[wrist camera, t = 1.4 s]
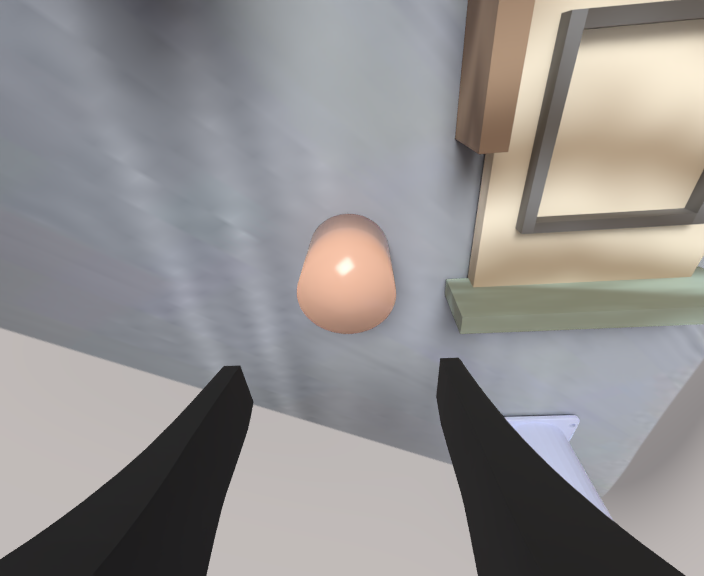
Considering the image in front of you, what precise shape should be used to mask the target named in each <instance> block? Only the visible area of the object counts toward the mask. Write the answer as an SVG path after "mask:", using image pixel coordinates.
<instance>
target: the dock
mask: <svg viewBox="0 0 704 576" xmlns="http://www.w3.org/2000/svg"><path fill="white" fill-rule="evenodd" d="M534 5H535V0H468V6H467V17H466V27H465V38H464V49H463V60H462V70H461V81H460V92H459V103H458V114H457V124H456V135H455V139H456V140H458V141H459V142H461V143H463V144H464V145H466V146H467V147H469V148H470V149H472V150H473V151H475V152H476V153H478V154H488V153H502V152H508V151H509V145H510V140H511V134H512V128H513V123H514V117H515V112H516V106H517V100H518V95H519V89H520V84H521V78H522V72H523V67H524V61H525V56H526V50H527V44H528V39H529V33H530V27H531V22H532V16H533V11H534Z"/></svg>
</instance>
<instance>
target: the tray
mask: <svg viewBox="0 0 704 576" xmlns="http://www.w3.org/2000/svg"><path fill="white" fill-rule="evenodd" d="M703 255H704V0H535V5H534V11H533V16H532V22H531V27H530V33H529V39H528V44H527V50H526V56H525V61H524V67H523V72H522V78H521V84H520V89H519V95H518V100H517V106H516V112H515V117H514V123H513V128H512V134H511V140H510V145H509V151H508V152H502V153H488V154H485V161H484V168H483V175H482V182H481V189H480V196H479V203H478V210H477V217H476V224H475V231H474V238H473V245H472V252H471V259H470V266H469V273H468V278H461V279H446V288H445V296H446V299H447V301H448V304H449V306H450V309H451V311H452V314H453V317H454V319H455V322H456V324H457V327H458V329H459V332H460V334H473V333H498V332H523V331H548V330H573V329H598V328H623V327H647V326H672V325H697V324H704V269H703V268H701V267H697V266H698V264H699V262H700V260H701V259H702V257H703Z"/></svg>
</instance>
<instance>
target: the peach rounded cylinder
mask: <svg viewBox="0 0 704 576" xmlns="http://www.w3.org/2000/svg"><path fill="white" fill-rule="evenodd" d="M297 298H298V302H299V305H300V307H301V309H302V311H303V312H304V314H305V315H306V316H307V317H308V318H309V319H310V320H311V321H312V322H313V323H315V324H316V325H318V326H319V327H321V328H323V329H326V330H328V331H331V332H336V333H342V334H353V333H360V332H364V331H367V330H369V329H372V328H374V327H376V326H377V325H379V324H380V323H381V322H383V321H384V320H385V319H386V318H387V316H388V315H389V314H390V312H391V311H392V309H393V306H394V304H395V300H396V288H395V282H394V276H393V270H392V264H391V258H390V252H389V246H388V242H387V239H386V236H385V234H384V232H383V231H382V230H381V228H380V227H379V226H378V225H377V224H376V223H374V222H373V221H372V220H370V219H368V218H366V217H364V216H360V215H356V214H341V215H337V216H334V217H331V218H329V219H327V220H326V221H324V222H323V223H322V224H321V225H320V226H319V227H318V228H317V229H316V230H315V232H314V234H313V236H312V238H311V241H310V245H309V248H308V252H307V255H306V258H305V262H304V265H303V268H302V272H301V275H300V278H299V282H298V286H297Z"/></svg>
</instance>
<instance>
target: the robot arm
mask: <svg viewBox="0 0 704 576" xmlns="http://www.w3.org/2000/svg"><path fill="white" fill-rule="evenodd" d="M436 398H437V404H438V410H439V415H440V421H441V426H442V429H443V433H444V436H445V440H446V443H447V447H448V450H449V453H450V457H451V460H452V464H453V467H454V471H455V474H456V477H457V481H458V484H459V488H460V491H461V495H462V499H463V503H464V507H465V512H466V516H467V522H468V527H469V532H470V537H471V542H472V547H473V552H474V557H475V563H476V568H477V573H478V576H685V575H684V574H683V573H681V572H680V571H678V570H677V569H676V568H674V567H673V566H672V565H670V564H669V563H667V562H666V561H665V560H664V559H662V558H661V557H659V556H658V555H657V554H655V553H654V552H653V551H651V550H650V549H649V548H647V547H646V546H645V545H643V544H642V543H641V542H639V541H638V540H637V539H635V538H634V537H633V536H631V535H630V534H629V533H628V532H626V531H625V530H624V529H622V528H621V527H620V526H619V525H618V524H616V523H615V522H614V521H613V519H612V517H611V515H610V514H609V512H608V510H607V508H606V507H605V505H604V503H603V501H602V500H601V498H600V496H599V494H598V493H597V491H596V489H595V487H594V486H593V484H592V482H591V480H590V478H589V477H588V475H587V473H586V471H585V470H584V468H583V466H582V464H581V463H580V461H579V459H578V457H577V456H576V454H575V452H574V450H573V449H572V447H571V445H570V443H569V442H570V440H571V438H572V436H573V434H574V432H575V430H576V428H577V426H578V424H579V422H580V420H579V418H578V416H576V415H558V416H519V417H504V416H503V415H502V414H501V413H500V412H499V411H498V409H497V408H496V407H495V406H494V404H493V403H492V402H491V401H490V399H489V398H488V397H487V396H486V394H485V393H484V392H483V391H482V389H481V388H480V387H479V385H478V384H477V383H476V381H475V380H474V378H473V377H472V376H471V374H470V373H469V371H468V370H467V369H466V367H465V366H464V364H463V363H462V361H461V360H460V359H459V358H440V367H439V376H438V385H437V395H436ZM252 407H253V399H252V397H251V394H250V391H249V388H248V386H247V383H246V380H245V378H244V375H243V372H242V369H241V367H240V366H224V367H223V368H222V369H221V370H220V371H219V372H218V373H217V374H216V375H215V376H214V378H213V379H212V380H211V381H210V382H209V383H208V384H207V385H206V387H205V388H204V389H203V390H202V391H201V392H200V393H199V394H198V395H197V397H196V398H195V399H194V400H193V401H192V402H191V403H190V404H189V405H188V406H187V408H186V409H185V410H184V411H183V412H182V413H181V414H180V415H179V416H178V417H177V418H176V419H175V420H174V421H173V422H172V424H170V425H169V426H168V427H167V428H166V429H165V430H164V431H163V432H162V433H161V434H160V435H159V436H158V437H157V438H156V439H155V440H154V441H153V442H152V443H151V444H150V445H149V446H148V447H147V448H146V449H145V450H144V451H143V452H142V453H141V454H140V455H139V456H137V457H136V458H135V459H134V460H133V461H132V462H130V463H129V464H128V465H127V466H126V467H125V468H124V469H123V470H121V471H120V472H119V473H118V474H117V475H116V476H114V477H113V478H112V479H110V480H109V481H108V482H107V483H106V484H104V485H103V486H102V487H101V488H99V489H98V490H97V491H95V493H93V494H92V495H91V496H89V497H88V498H87V499H86V500H84V501H83V502H82V503H80V504H79V505H78V506H76V507H75V508H74V509H72V510H71V511H70V512H68V513H67V514H66V515H64V516H63V517H61V518H60V519H59V520H57V521H56V522H55V523H53V524H52V525H50V526H49V527H48V528H46V529H45V530H43V531H42V532H40V533H39V534H38V535H36V536H35V537H33V538H32V539H30V540H29V541H27V542H26V543H24V544H23V545H21V546H20V547H18V548H17V549H15V550H14V551H12V552H11V553H9V554H8V555H6V556H5V557H3V558H2V559H0V576H206V574H207V570H208V566H209V561H210V556H211V552H212V547H213V543H214V539H215V534H216V530H217V526H218V522H219V518H220V514H221V510H222V506H223V503H224V499H225V496H226V493H227V490H228V487H229V484H230V481H231V478H232V475H233V472H234V470H235V466H236V464H237V461H238V458H239V455H240V452H241V449H242V446H243V443H244V440H245V437H246V434H247V430H248V426H249V422H250V418H251V412H252Z"/></svg>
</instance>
